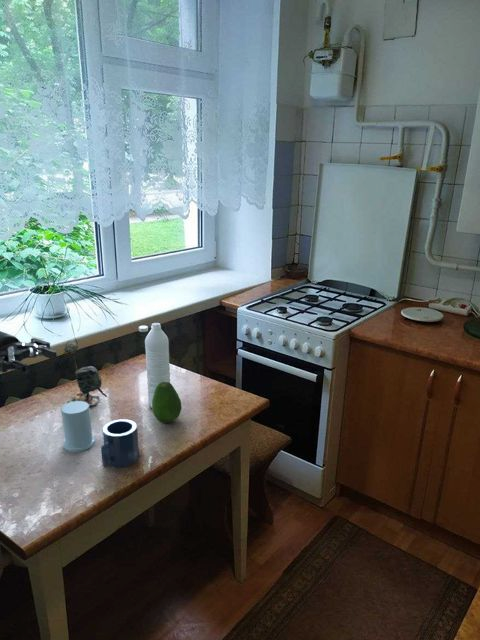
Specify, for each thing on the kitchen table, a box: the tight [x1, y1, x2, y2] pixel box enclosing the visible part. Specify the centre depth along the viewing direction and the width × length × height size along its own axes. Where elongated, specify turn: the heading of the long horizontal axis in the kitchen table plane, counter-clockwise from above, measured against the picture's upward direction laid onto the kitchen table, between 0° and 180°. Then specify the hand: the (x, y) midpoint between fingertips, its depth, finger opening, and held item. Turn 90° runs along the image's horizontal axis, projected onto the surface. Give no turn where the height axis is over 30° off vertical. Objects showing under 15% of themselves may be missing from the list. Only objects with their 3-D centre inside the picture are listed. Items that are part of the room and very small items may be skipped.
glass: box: [60, 401, 96, 453], centre depth 123 cm, size 7×7×10 cm
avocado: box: [151, 382, 182, 424], centre depth 134 cm, size 8×8×12 cm
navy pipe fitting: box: [100, 418, 140, 469], centre depth 117 cm, size 11×8×8 cm
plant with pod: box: [62, 340, 108, 407], centre depth 141 cm, size 8×11×20 cm
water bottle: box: [138, 322, 171, 408], centre depth 140 cm, size 9×6×25 cm
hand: (41, 362), depth 121 cm, fingers open, 8 cm apart
